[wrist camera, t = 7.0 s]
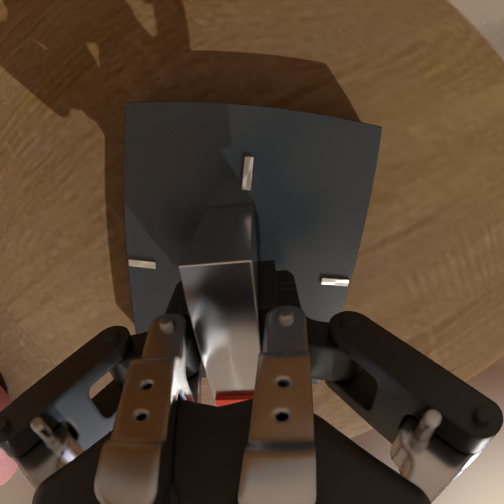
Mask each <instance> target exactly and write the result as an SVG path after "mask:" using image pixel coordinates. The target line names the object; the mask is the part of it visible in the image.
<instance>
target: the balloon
mask: <svg viewBox="0 0 504 504" xmlns="http://www.w3.org/2000/svg"><path fill="white" fill-rule="evenodd" d="M10 403H12V401H11V399H10V398H9V396H8V395H7V393H6V392H5V390H4V389H3V388H2V386H1V385H0V412H1V411H2V410H3V409H4V408H6V407H7V406H8V405H9V404H10ZM18 467H19V466H18V464H17V463H15V462H14V461H13V460H12V459H11V458H10V457H9V456H8V455H7V454H6V453H5V451H4V450H3V449H2V448H1V447H0V485H2V484H3V483H5V482H6V481H8V480H9V479H10V478H11V477H12V476H13V475H14V473H15V472H16V470H17V469H18Z"/></svg>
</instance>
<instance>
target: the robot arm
mask: <svg viewBox="0 0 504 504" xmlns="http://www.w3.org/2000/svg"><path fill="white" fill-rule="evenodd" d="M258 283H259V310H260V319H261V329H262V338H263V348H262V353H259V356H258V364H257V372H256V380H255V389H254V397H253V399H249V400H245V401H241V402H237V403H233V404H228V405H224V406H219V407H216V406H210V405H206V404H201V370H200V364H201V361H202V360H201V357H200V353H199V349H198V346H197V342H196V338H195V335H194V331H193V327H192V323H191V319H190V315H189V311H188V307H187V303H186V299H185V295H184V291H183V286H182V282H181V281H180V282H179V283H178V284H177V285H176V287H175V289H174V293H173V294H172V297H171V299H170V302H169V304H168V307H167V309H166V312H165V314H164V315H161V316H159V317H157V318H156V319H154V320H153V321H152V323H151V324H150V327H149V330H148V331H147V332H144V333H140V334H136V335H130V333H129V331H128V329H127V328H125V327H123V326H113V327H109V328H107V329H105V330H103V331H102V332H100V333H99V334H98V335H96V336H95V337H94V338H92V339H91V340H90V341H89V342H87V343H86V344H85V345H83V346H82V347H81V348H80V349H78V350H77V351H76V352H74V353H73V354H72V355H71V356H69V357H68V358H67V359H65V360H64V361H63V362H62V363H60V364H59V365H58V366H56V367H55V368H54V369H53V370H51V371H50V372H49V373H48V374H46V375H45V376H44V377H43V378H41V379H40V380H39V381H38V382H36V383H35V384H34V385H33V386H31V387H30V388H29V389H28V390H26V391H25V392H24V393H23V394H21V395H20V396H19V397H18V398H17V399H15V400H14V401H13V402H12V403H10V404H9V405H8V406H7V407H6V408H4V409H3V410H2V411H1V412H0V447H1V448H2V449H3V450H4V451H5V453H6V454H7V455H8V456H9V457H10V458H11V459H12V460H13V461H14V462H15V463H17V464H18V466H19V467H20V469H21V470H22V472H23V473H24V475H25V476H26V477H27V479H28V480H29V481H30V483H31V484H32V485H33V487H34V488H35V490H36V492H35V494H34V497H33V501H32V504H431V503H432V502H433V501H434V500H435V499H436V497H437V496H439V494H440V493H441V492H442V491H443V490H444V489H445V488H446V487H447V486H448V485H449V484H450V483H451V481H452V480H454V479H455V478H456V477H457V476H459V475H460V474H461V473H462V472H463V471H464V470H465V469H466V468H467V467H468V466H469V464H470V463H471V462H472V461H473V460H474V459H475V458H476V457H477V456H478V455H479V454H480V453H481V452H482V450H483V449H484V448H485V447H486V446H487V445H488V443H489V442H490V441H491V440H492V439H493V438H494V436H495V435H496V434H497V433H498V431H499V430H500V428H501V426H502V423H503V415H502V411H501V409H500V408H499V406H498V405H497V404H496V403H495V402H494V401H492V400H491V399H489V398H487V397H486V396H485V395H483V394H481V393H480V392H479V391H477V390H476V389H474V388H473V387H471V386H470V385H468V384H467V383H465V382H464V381H462V380H461V379H459V378H458V377H456V376H455V375H453V374H452V373H450V372H449V371H447V370H446V369H444V368H443V367H441V366H440V365H438V364H437V363H435V362H434V361H432V360H431V359H429V358H428V357H426V356H425V355H423V354H422V353H420V352H419V351H417V350H416V349H414V348H413V347H411V346H410V345H408V344H407V343H405V342H404V341H402V340H401V339H399V338H398V337H396V336H395V335H393V334H392V333H390V332H389V331H387V330H386V329H384V328H382V327H381V326H379V325H378V324H376V323H375V322H373V321H372V320H370V319H369V318H367V317H366V316H364V315H362V314H360V313H358V312H353V311H344V312H340V313H337V314H335V315H334V316H332V317H331V319H330V321H329V322H322V321H316V320H313V319H310V318H308V317H307V316H306V314H305V312H304V311H303V310H302V309H301V305H300V300H299V296H298V292H297V287H296V284H295V279H294V275H293V274H292V273H290V272H289V271H288V270H281V271H276V268H275V261H274V260H268V261H258ZM108 371H110V373H111V375H112V377H113V378H114V380H113V381H111V382H110V383H109V384H108V385H107V386H106V387H105V388H104V389H102V390H101V391H100V392H99V393H98V394H97V395H96V396H95V397H93V398H92V399H90V397H89V390H90V388H91V386H92V385H93V384H94V383H95V382H97V381H98V380H99V379H100V378H101V377H102V376H104V375H105V374H106V373H107V372H108ZM312 378H313V379H321V380H325V382H326V384H327V385H328V387H329V388H331V389H332V390H333V391H334V392H335V393H336V394H337V395H338V396H339V397H340V398H341V399H342V400H343V401H345V402H346V403H347V404H348V405H349V406H350V407H351V408H352V409H353V410H354V411H355V412H357V413H358V414H359V415H360V416H361V417H362V418H363V419H364V420H365V421H367V422H368V423H369V424H370V425H371V426H372V427H373V428H374V429H376V430H377V431H378V432H379V433H380V434H381V435H382V436H384V437H385V438H386V439H387V440H388V441H389V442H391V444H392V446H391V451H390V454H391V458H392V460H393V462H394V463H395V465H396V466H397V467H398V469H399V471H400V474H399V473H397V472H396V471H394V470H393V469H391V468H390V467H388V466H387V465H385V464H384V463H383V462H381V461H380V460H378V459H377V458H375V457H374V456H372V455H371V454H369V453H368V452H367V451H365V450H364V449H363V448H361V447H360V446H358V445H357V444H356V443H354V442H353V441H352V440H350V439H349V438H348V437H346V436H345V435H344V434H342V433H341V432H340V431H338V430H337V429H336V428H334V427H333V426H332V425H330V424H329V423H328V422H326V421H325V420H324V419H322V418H321V417H319V416H318V415H316V414H314V413H313V395H312ZM112 428H113V430H112V431H110V430H111V429H112ZM109 431H110V432H109ZM108 432H109V433H108ZM107 433H108V434H107Z"/></svg>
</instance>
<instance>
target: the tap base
mask: <svg viewBox="0 0 504 504" xmlns="http://www.w3.org/2000/svg"><path fill="white" fill-rule="evenodd" d="M381 131H382V127H380V126H376V125H372V124H367V123H363V122H358V121H353V120H349V119H344V118H338V117H333V116H328V115H322V114H316V113H310V112H303V111H296V110H289V109H282V108H273V107H264V106H255V105H243V104H230V103H214V102H184V101H154V102H127V103H126V114H125V135H124V212H125V233H126V248H127V261H128V272H129V282H130V291H131V300H132V308H133V315H134V322H135V329H136V334H140V333H144V332H147V331H148V330H149V327H150V324H151V323H152V321H153V320H154V319H156V318H157V317H159V316H161V315H164V314H165V312H166V309H167V307H168V304H169V302H170V299H171V297H172V294H173V293H174V289H175V287H176V285H177V284H178V283H179V282H180V281H181V278H180V273H179V269H178V266H179V263H180V261H181V259H182V257H183V255H184V253H185V251H186V249H187V247H188V245H189V243H190V241H191V239H192V237H193V235H194V233H195V231H196V229H197V227H198V225H199V223H200V221H201V219H202V217H203V215H204V213H205V211H206V209H207V208H213V207H223V206H233V205H243V204H253V208H254V218H255V228H256V238H257V248H258V258H259V261H268V260H274V261H275V268H276V271H281V270H288V271H289V272H290V273H292V274H293V275H294V279H295V284H296V287H297V292H298V296H299V300H300V305H301V309H302V310H303V311H304V312H305V314H306V316H307V317H308V318H310V319H313V320H316V321H322V322H329V321H330V319H331V317H332V316H334V315H335V314H337V313H340V312H342V309H343V305H344V302H345V298H346V295H347V291H348V288H349V284H350V281H351V277H352V273H353V269H354V266H355V262H356V258H357V254H358V250H359V246H360V241H361V237H362V233H363V229H364V224H365V220H366V215H367V210H368V206H369V201H370V196H371V191H372V186H373V180H374V175H375V169H376V163H377V157H378V151H379V145H380V138H381ZM200 370H201V377H206V374H205V371H204V367H203V364H202V361H201V364H200ZM318 381H319V379H313V378H312V384H318Z"/></svg>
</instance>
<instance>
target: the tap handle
mask: <svg viewBox="0 0 504 504" xmlns="http://www.w3.org/2000/svg"><path fill="white" fill-rule="evenodd" d="M258 261H259V258H258V248H257V238H256V228H255V218H254V208H253V204H243V205H233V206H223V207H213V208H207V209H206V211H205V213H204V215H203V217H202V219H201V221H200V223H199V225H198V227H197V229H196V231H195V233H194V235H193V237H192V239H191V241H190V243H189V245H188V247H187V249H186V251H185V253H184V255H183V257H182V259H181V261H180V263H179V266H178V269H179V273H180V278H181V282H182V286H183V291H184V295H185V299H186V303H187V307H188V311H189V315H190V319H191V323H192V327H193V331H194V335H195V338H196V342H197V346H198V349H199V353H200V357H201V360H202V364H203V367H204V371H205V374H206V378H207V381H208V384H209V388H210V391H211V394H212V397H213V401H214V404H215V406H216V407H219V406H224V405H228V404H233V403H237V402H241V401H245V400H249V399H253V397H254V389H255V380H256V372H257V364H258V356H259V353H262V348H263V338H262V329H261V319H260V310H259V283H258Z"/></svg>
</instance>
